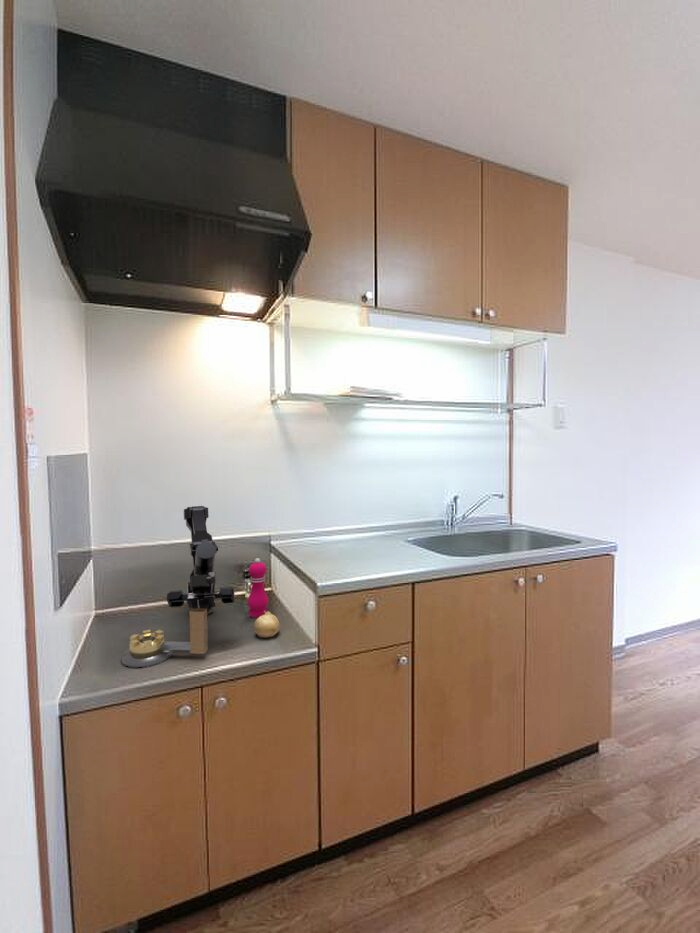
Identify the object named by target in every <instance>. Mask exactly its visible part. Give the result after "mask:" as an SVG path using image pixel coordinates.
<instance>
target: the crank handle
mask: <svg viewBox="0 0 700 933" xmlns="http://www.w3.org/2000/svg"><path fill="white" fill-rule="evenodd" d="M188 612H189V613H188V615H189V641H165V635H164V630H161V629H158V630H156V631H155V630H154V632H151V629H147V630H142V634H138V633H137V634H132V635H131V636H130V637H129V648H130V655H131V656H132V657H135V658H146V657H151V656H154V655H157V654H159V653H160V652H162V651H163V650H172V651H190V652H189V653H190V654H197V655H199V654H202V655H205V654H206V653H207V651H208V650H209V647H208V646H209V644H208V642H209V641H208V640H209V639H208V637H209V636H208V615H207V608H193V609H190V610H189V611H188Z"/></svg>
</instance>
